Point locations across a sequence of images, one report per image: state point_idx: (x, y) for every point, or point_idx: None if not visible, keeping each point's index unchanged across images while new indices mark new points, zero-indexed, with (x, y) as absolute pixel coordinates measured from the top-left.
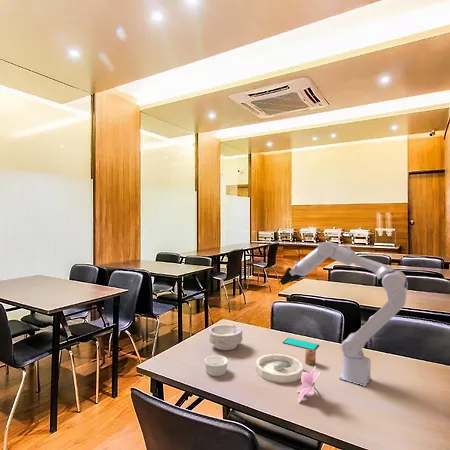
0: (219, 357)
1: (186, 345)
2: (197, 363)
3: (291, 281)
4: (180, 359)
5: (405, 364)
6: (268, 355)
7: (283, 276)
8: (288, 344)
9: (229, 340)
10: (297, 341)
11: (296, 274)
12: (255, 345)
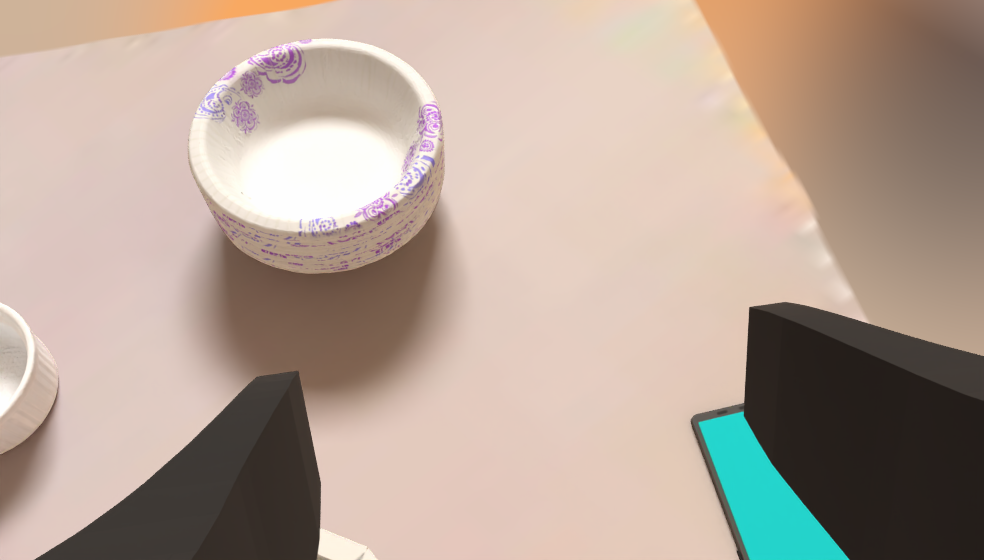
0: (27, 343)
1: (187, 56)
2: (19, 251)
3: (758, 433)
4: (7, 157)
5: None
6: (320, 547)
7: (161, 477)
8: (706, 464)
9: (241, 236)
10: None
11: (945, 532)
12: (497, 312)
